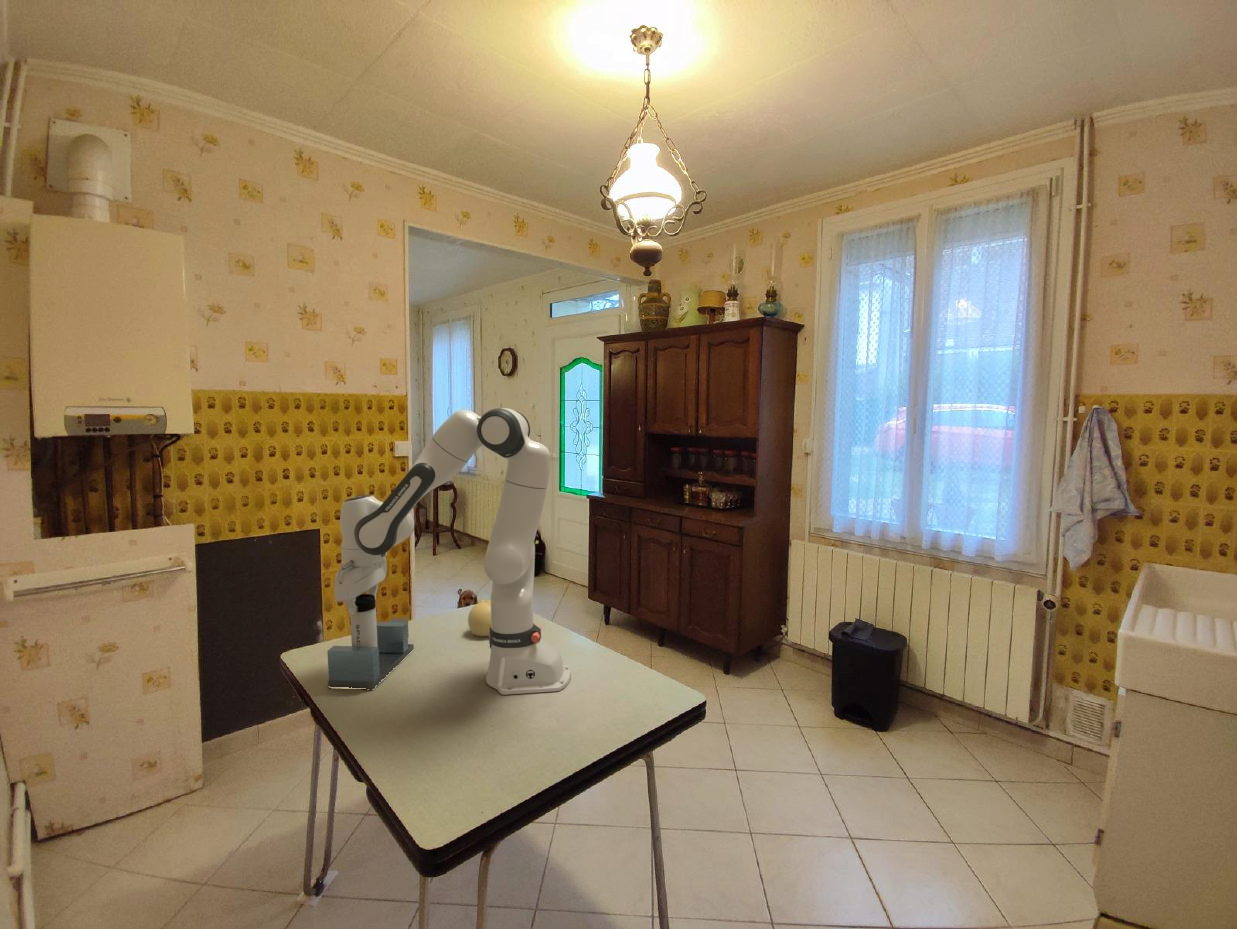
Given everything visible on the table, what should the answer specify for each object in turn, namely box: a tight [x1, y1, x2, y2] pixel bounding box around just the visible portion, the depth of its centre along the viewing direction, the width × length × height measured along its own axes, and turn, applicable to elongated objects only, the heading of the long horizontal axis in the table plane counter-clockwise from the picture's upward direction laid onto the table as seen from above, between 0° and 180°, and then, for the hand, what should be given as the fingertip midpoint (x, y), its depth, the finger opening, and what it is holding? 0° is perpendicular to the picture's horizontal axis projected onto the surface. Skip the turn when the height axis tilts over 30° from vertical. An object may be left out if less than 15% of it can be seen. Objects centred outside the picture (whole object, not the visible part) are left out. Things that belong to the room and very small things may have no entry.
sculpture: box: [467, 598, 491, 637], centre depth 180 cm, size 11×12×11 cm
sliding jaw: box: [376, 618, 410, 653], centre depth 165 cm, size 11×12×8 cm
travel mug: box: [349, 593, 378, 647], centre depth 150 cm, size 6×7×20 cm
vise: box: [326, 643, 415, 690], centre depth 154 cm, size 24×12×10 cm, turn 176°
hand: (362, 607), depth 149 cm, fingers open, 8 cm apart
